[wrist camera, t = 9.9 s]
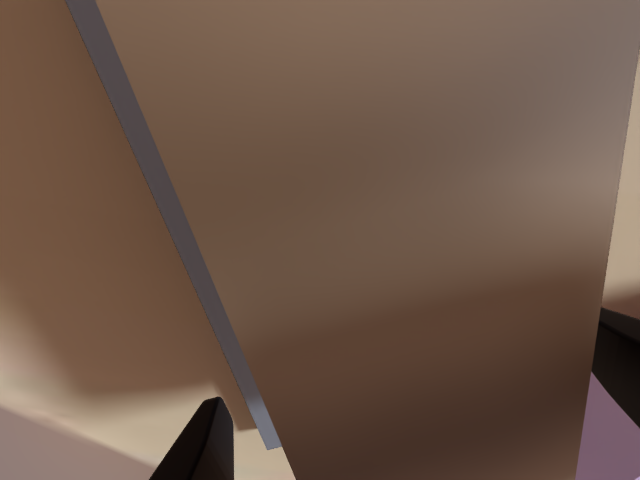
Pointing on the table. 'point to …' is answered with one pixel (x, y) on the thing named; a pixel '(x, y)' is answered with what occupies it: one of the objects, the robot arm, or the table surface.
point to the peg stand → (167, 202)
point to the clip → (607, 439)
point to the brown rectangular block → (399, 213)
